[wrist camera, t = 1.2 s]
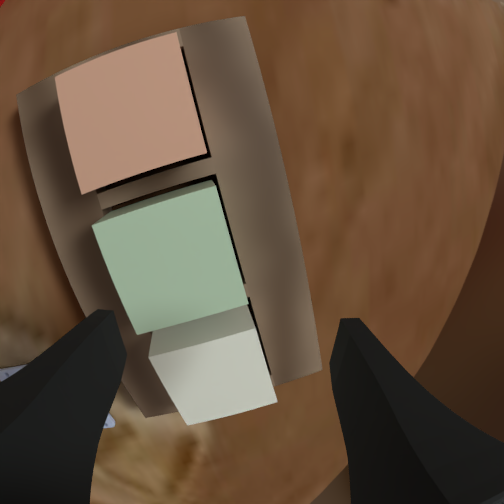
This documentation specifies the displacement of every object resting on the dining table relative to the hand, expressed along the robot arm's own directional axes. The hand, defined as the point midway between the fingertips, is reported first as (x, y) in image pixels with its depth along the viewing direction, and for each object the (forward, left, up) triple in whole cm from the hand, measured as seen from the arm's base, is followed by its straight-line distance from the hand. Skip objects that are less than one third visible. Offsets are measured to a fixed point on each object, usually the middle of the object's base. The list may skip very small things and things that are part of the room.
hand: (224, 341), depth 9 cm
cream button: (-2, -6, -9) cm, 11 cm away
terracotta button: (-2, +9, -9) cm, 12 cm away
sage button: (-2, +1, -9) cm, 9 cm away
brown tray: (-2, +1, -11) cm, 11 cm away
